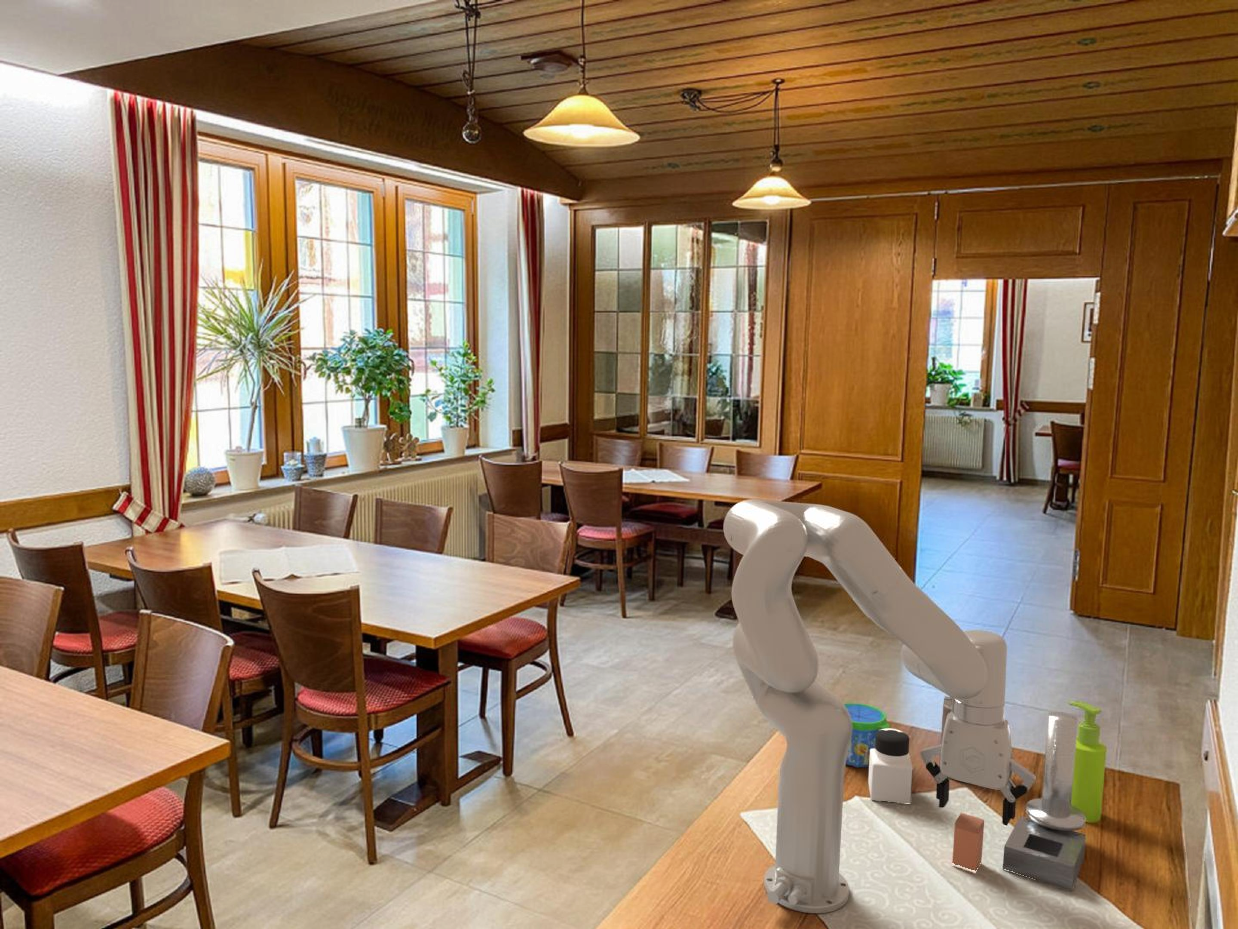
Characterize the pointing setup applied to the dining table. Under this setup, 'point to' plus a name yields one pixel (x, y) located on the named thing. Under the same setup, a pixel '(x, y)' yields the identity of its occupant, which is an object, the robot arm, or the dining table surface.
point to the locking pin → (968, 841)
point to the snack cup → (864, 732)
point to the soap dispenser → (1088, 765)
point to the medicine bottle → (890, 767)
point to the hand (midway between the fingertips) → (974, 812)
